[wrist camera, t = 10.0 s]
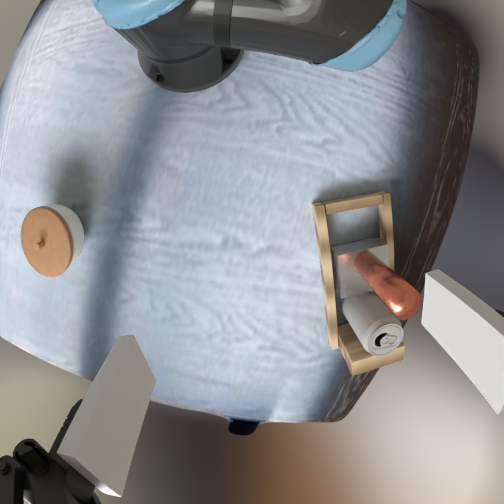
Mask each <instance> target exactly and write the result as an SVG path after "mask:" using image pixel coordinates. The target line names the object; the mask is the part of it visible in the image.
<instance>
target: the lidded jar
mask: <svg viewBox="0 0 504 504" xmlns="http://www.w3.org/2000/svg"><path fill="white" fill-rule="evenodd" d="M21 244H22V248H23V251H24V254H25V256H26V258H27V260H28V262H29V263H30V264H31V266H32V267H33V268H34V269H35V270H36V271H37V272H39V273H40V274H42V275H44V276H47V277H56V276H59V275H60V274H62V273H63V272H64V271H66V270H67V268H69V267H70V266H71V265H72V264H73V263H74V262H75V261H76V259H77V258H78V256H79V255H80V253H81V251H82V248H83V244H84V229H83V226H82V223H81V221H80V219H79V217H78V216H77V215H76V213H75V212H74V211H72V210H71V209H70V208H68V207H66V206H63V205H57V204H52V205H46V206H41V207H37V208H35V209H33V210H31V211H30V212H29V213H28V214H27V215H26V217H25V219H24V221H23V224H22V228H21Z"/></svg>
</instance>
